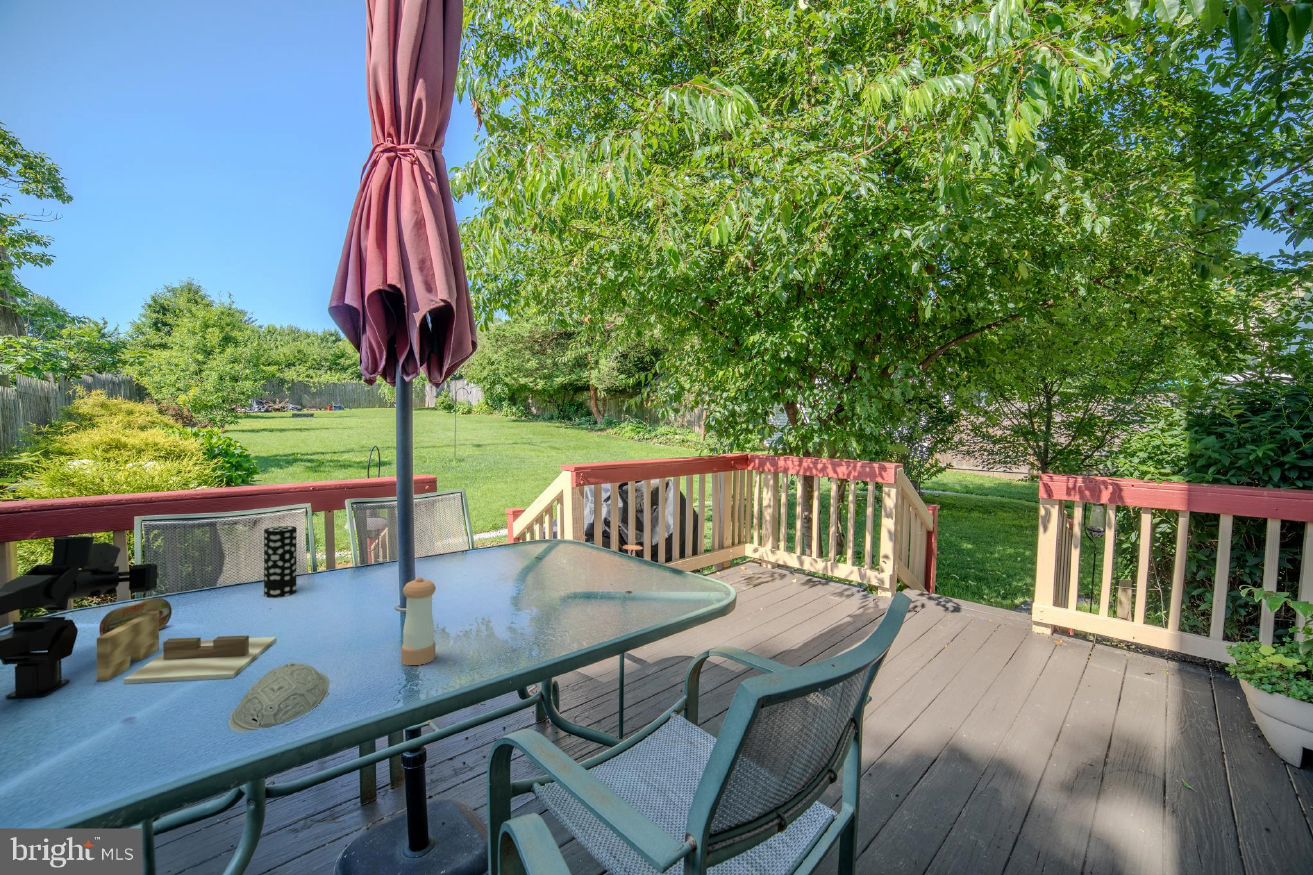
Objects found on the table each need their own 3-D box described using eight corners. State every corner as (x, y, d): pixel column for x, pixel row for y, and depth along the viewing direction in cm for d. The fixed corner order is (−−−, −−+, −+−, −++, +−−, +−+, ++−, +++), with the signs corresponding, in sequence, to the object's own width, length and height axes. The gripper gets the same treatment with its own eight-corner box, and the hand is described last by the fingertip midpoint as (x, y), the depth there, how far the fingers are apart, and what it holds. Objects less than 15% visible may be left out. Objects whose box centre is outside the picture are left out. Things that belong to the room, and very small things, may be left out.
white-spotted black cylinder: (301, 592, 178) (301, 528, 178) (272, 599, 171) (272, 532, 170) (288, 587, 183) (288, 524, 182) (258, 594, 176) (258, 529, 175)
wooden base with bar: (233, 678, 122) (233, 654, 122) (123, 683, 118) (123, 659, 118) (276, 640, 142) (276, 620, 141) (183, 644, 138) (183, 624, 138)
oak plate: (108, 680, 119) (108, 637, 119) (97, 681, 119) (96, 638, 119) (159, 649, 135) (158, 611, 135) (149, 649, 135) (149, 611, 134)
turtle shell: (209, 738, 100) (215, 699, 100) (259, 681, 123) (263, 649, 124) (311, 734, 104) (316, 697, 105) (339, 680, 128) (343, 649, 128)
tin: (107, 649, 134) (106, 613, 134) (96, 647, 135) (96, 612, 135) (173, 626, 149) (172, 594, 149) (163, 625, 150) (162, 593, 149)
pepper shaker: (402, 654, 136) (403, 574, 135) (435, 651, 138) (436, 572, 138) (400, 667, 129) (401, 583, 128) (435, 663, 132) (436, 580, 131)
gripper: (130, 542, 126) (180, 539, 141) (33, 550, 123) (95, 546, 139) (128, 594, 124) (179, 586, 140) (30, 603, 122) (93, 594, 137)
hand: (137, 577), depth 139 cm, fingers open, 9 cm apart
